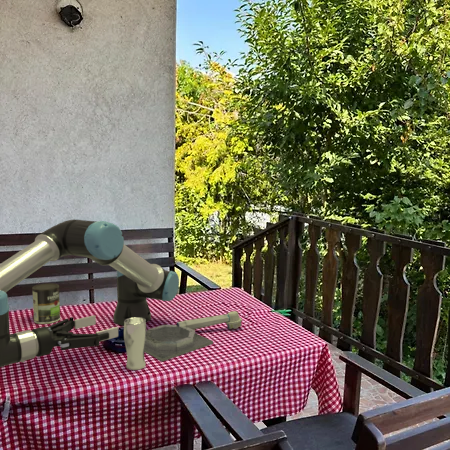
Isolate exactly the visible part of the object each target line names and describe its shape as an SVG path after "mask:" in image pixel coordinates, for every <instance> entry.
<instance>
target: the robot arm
mask: <svg viewBox="0 0 450 450" xmlns="http://www.w3.org/2000/svg"><path fill="white" fill-rule="evenodd" d="M122 235H123V232H122V230H121V229H120V227H119V226H118V225H116V224H115V223H112V222H109V221H105V220H99V221H95V220H84V219H74V218H73V219H68V220H64V221H62V222H59V223H58V224H57V223H56V224H54V226H53V225H52V227H49V228H48V229H46V230H44V231H42V232H41V233H39V234H38V235H37V236H36V237H35V238H34V242H32V243H30V244H29V245H27V246H26V247H24V248H23V249H21V250H20V251H18V252H16V253H15V254H13V255H12V256H11V257H9V258H8V259H5V260H4V261H2V262H1V263H0V368H3V367H5V366H10V365H13V364H17V363H20V362H21V363H25V361H28V360H32V359H35V358H36V357H37V358H39V357H43V356H47V355H50V354H51V353H52V351H53V349H54V348H55V347H56V348H57V347H58V348H59V347H60V350H61V351H66V350H72V349H80V348H83V349H84V348H93V347H99V346H100V342H104V341H107V340H110V339H114V338H118V337H119V327H118V326H116V327H111V328H107V329H104V330H100V331H96V332H95V333H74V332H72V330H73V329H75V330H78V329H82V328H87V327H90V326H94V325H97V321H96V320H97V319H96V317H97V316H96V315H89V316H85V317H81V318H78V319H74V317H69V318H65V319H62V320H59V321H57V322H55V323H54V324H53V323H52V324H51V325H49V326H40V327H36V328H32V330H31V329H26V330H22V331H18V332H15V333H11V332H10V314H9V313H10V304H9V299H8V294H7V292H8V291H9V290H11V289H13V287H15V286H17V285H18V284H19V283H21V282H23V280H25V279H26V278H28V277H29V276H30V275H33V273H35V272H36V271H37V270H39V269H40V268H42V267H43V266H45V265H46V264H48V263H49V262H55V261H57V260H59V259H60V258H62V257H66V256H76V257H84V258H88V259H91V261H94V262H95V263H96V264H98V265H100V266H110V267H112V269H114V270H115V271H116V277H115V278H116V294H117V298H116V299H117V303H116V306H115V310H114V313H113V322H114V323H115V324H117V325H120V326H124V321H125V320H126V319H128V318H133V317H141V318H144V319H145V320H146V323H148V322H150V321H151V320H152V312H151V310H150V306H149V304H148V301H147V300H148V299H152V300H157V301H161V302H171V301H173V300H174V299H175V297H176V295H177V294H178V291H179V286H180V278H179V277H180V276H179V274H178V273H177V272H175V271H173V270H166V269H164V268H163V267H162V266H161V265H159V264H156V263H150V262H148V261H147V260H146V259H144V258H143V257H141V256H140V255H139V254H138V253H136V252H135V250H133V249H131V248H130V247H128V246H127V245H125V242H124V241H125V238H124V236H122Z"/></svg>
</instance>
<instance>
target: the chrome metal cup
mask: <svg viewBox="0 0 450 450" xmlns="http://www.w3.org/2000/svg"><path fill="white" fill-rule="evenodd" d="M146 331H147V324H146V320H145V319H144V318H141V317H133V318H128V319H126V320H125V321H124V325H123V341H124V345H125V346H124V347H125V350H126V356H127V359H126V366H125V368H126V369H127V370H131V371H139V370H142V369H144V368H145V367H146V364H147V363H146V359H145V352H144V350H145V344H146Z"/></svg>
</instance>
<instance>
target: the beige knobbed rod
mask: <svg viewBox="0 0 450 450" xmlns="http://www.w3.org/2000/svg"><path fill="white" fill-rule="evenodd" d="M242 321H243V319H242V317H240V315H239V312H238V311H236V310H235V311H233V310H232V311H230V312H229V311H228V312H227V313H226V314H219V315H213V316H206V317H200V318H194V319H188V320H187V319H185V320H183V321H177V322H176V325H177V326H178V330H179V327H183V326H186V327H188V328H191V329H193V330H195V331H196V330H198V329H202V328H203V329H204V328H208V327H212V326H216V325H220V324H226V327H227V329H228V330H232V329H234V330H235V329H239V327H240V328H241V327H242Z"/></svg>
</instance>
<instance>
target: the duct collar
mask: <svg viewBox="0 0 450 450" xmlns="http://www.w3.org/2000/svg"><path fill="white" fill-rule="evenodd" d="M213 344H214V340H212V339H209V338H207V337H205V336H202V335H201V334H198V333H196V329H195V330H193V329H191V328H188V327H186V326H183V327H179V330H178V326H177V324H163V325H159V326H155V327H151V328H148V329H146V344H145V350H144V353H146V354H148V355H149V356H151V357H153V358H155V359H157V360H158V361H160V362H165V361H168V360H171V359H173V358H176V357H179V356H181V355H184V354H188V353H191V352H193V351H196V349H197V350H199V349H202V348H205V347H208V346H211V345H213Z"/></svg>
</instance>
